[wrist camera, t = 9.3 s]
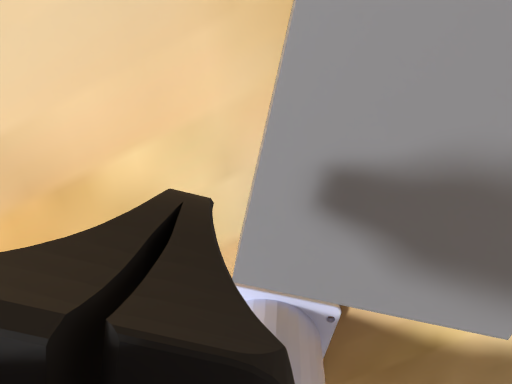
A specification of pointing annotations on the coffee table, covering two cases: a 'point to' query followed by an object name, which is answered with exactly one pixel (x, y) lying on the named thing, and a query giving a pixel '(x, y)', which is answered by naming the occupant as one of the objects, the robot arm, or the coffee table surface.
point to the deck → (389, 163)
